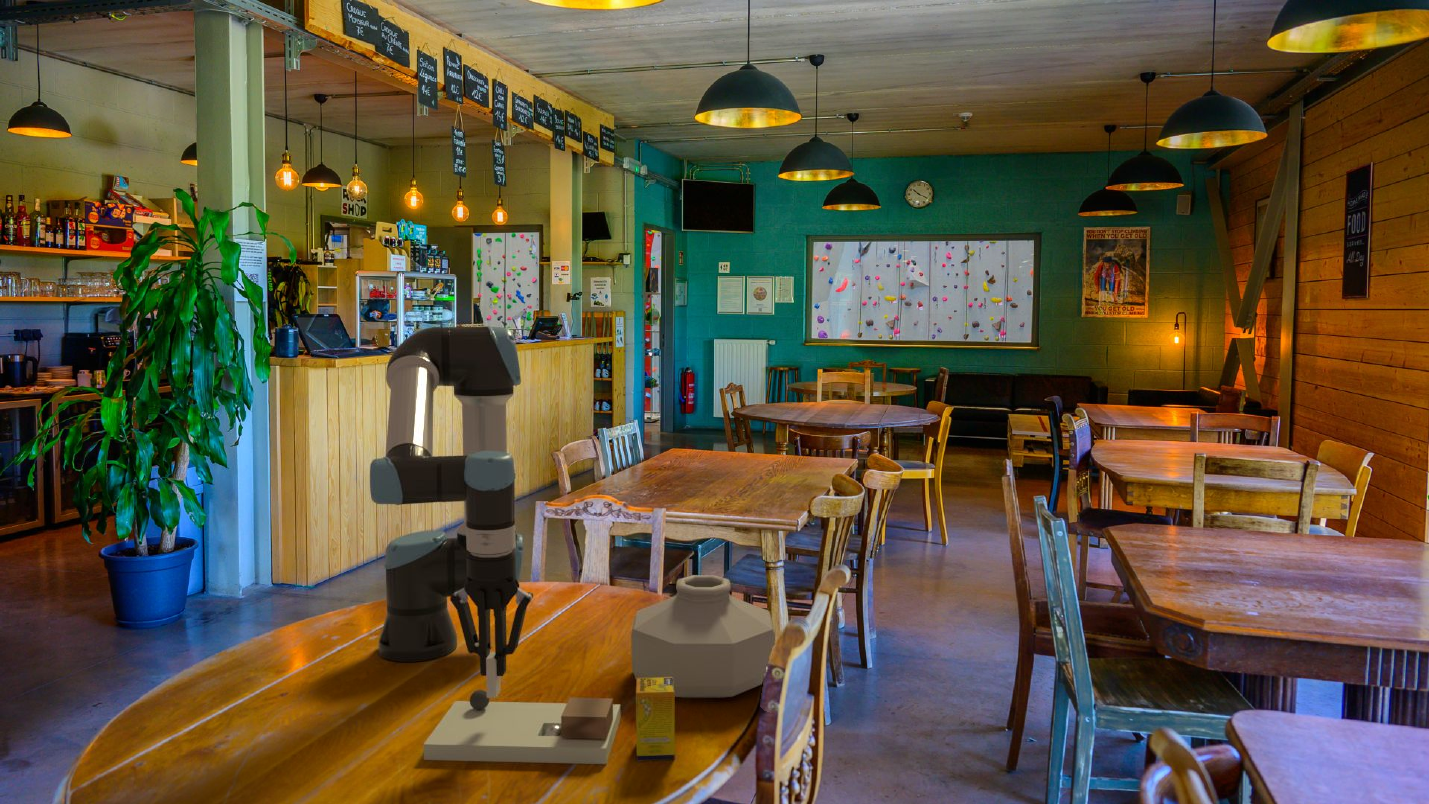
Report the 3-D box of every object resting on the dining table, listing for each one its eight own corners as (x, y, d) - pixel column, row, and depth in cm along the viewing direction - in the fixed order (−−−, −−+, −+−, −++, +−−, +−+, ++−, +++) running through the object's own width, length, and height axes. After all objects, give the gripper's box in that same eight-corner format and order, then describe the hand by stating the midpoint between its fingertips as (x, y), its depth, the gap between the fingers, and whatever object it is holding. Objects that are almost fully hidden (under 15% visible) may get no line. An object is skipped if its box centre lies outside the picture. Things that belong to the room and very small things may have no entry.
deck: (423, 759, 147) (423, 744, 147) (455, 715, 163) (455, 701, 163) (606, 764, 146) (606, 748, 146) (620, 718, 162) (620, 704, 162)
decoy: (467, 713, 158) (466, 694, 158) (473, 704, 161) (472, 686, 161) (486, 713, 158) (486, 694, 158) (491, 705, 161) (491, 686, 161)
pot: (608, 663, 187) (608, 569, 185) (739, 643, 198) (740, 555, 196) (657, 720, 162) (657, 612, 160) (805, 694, 173) (806, 593, 171)
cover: (561, 738, 149) (561, 716, 148) (569, 718, 155) (569, 697, 155) (606, 739, 148) (606, 717, 148) (613, 719, 155) (612, 698, 155)
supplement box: (635, 743, 153) (635, 677, 152) (673, 742, 153) (673, 676, 152) (635, 761, 147) (635, 692, 146) (675, 760, 148) (675, 691, 146)
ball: (547, 727, 150) (565, 736, 150) (552, 717, 153) (570, 727, 153) (538, 743, 151) (556, 753, 151) (543, 734, 154) (561, 743, 154)
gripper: (442, 557, 147) (446, 703, 150) (526, 559, 147) (528, 705, 150) (457, 543, 155) (460, 683, 158) (537, 545, 154) (539, 685, 157)
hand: (493, 694), depth 154 cm, fingers closed
